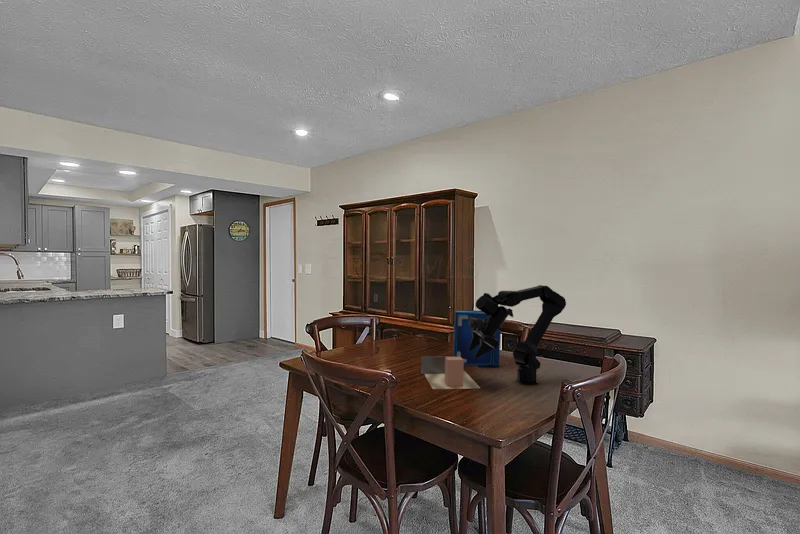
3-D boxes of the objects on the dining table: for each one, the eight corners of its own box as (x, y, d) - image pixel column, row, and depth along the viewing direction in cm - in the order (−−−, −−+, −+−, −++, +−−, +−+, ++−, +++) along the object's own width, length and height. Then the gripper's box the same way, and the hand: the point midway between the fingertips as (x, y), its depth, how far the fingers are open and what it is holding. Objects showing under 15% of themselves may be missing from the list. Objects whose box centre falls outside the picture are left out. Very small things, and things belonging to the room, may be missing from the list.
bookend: (448, 371, 179) (449, 355, 179) (450, 373, 176) (450, 356, 176) (420, 372, 178) (421, 355, 178) (421, 373, 175) (422, 357, 175)
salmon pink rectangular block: (460, 382, 164) (460, 356, 164) (463, 386, 159) (463, 359, 159) (444, 382, 163) (445, 356, 163) (447, 386, 158) (447, 360, 158)
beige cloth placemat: (464, 373, 181) (464, 370, 181) (480, 390, 157) (480, 388, 157) (422, 373, 179) (422, 371, 179) (432, 391, 155) (432, 388, 155)
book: (499, 364, 197) (500, 310, 197) (501, 368, 190) (502, 312, 190) (452, 362, 199) (453, 309, 199) (453, 366, 192) (454, 311, 192)
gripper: (472, 304, 171) (450, 336, 171) (485, 314, 152) (460, 349, 153) (494, 319, 172) (472, 350, 173) (509, 330, 153) (485, 366, 154)
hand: (472, 353), depth 163 cm, fingers open, 9 cm apart
